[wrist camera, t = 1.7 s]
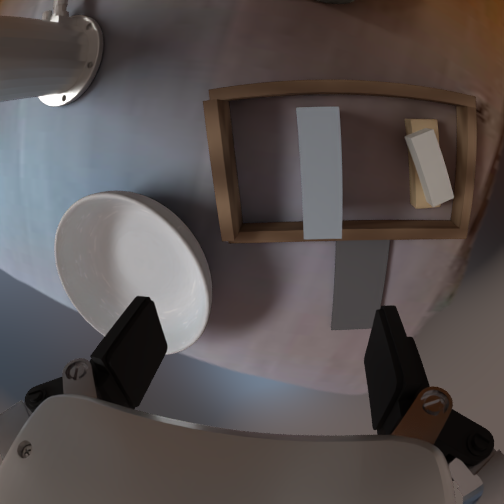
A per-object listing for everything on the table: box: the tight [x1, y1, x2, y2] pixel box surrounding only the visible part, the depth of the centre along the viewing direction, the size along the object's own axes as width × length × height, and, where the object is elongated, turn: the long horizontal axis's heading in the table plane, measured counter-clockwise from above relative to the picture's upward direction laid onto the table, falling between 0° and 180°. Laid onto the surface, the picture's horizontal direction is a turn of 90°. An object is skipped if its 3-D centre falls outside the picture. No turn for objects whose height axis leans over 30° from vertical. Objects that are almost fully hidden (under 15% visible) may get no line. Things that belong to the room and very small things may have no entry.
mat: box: [331, 240, 390, 330], centre depth 32 cm, size 13×6×1 cm, turn 6°
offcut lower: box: [405, 119, 441, 209], centre depth 24 cm, size 9×3×2 cm, turn 11°
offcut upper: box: [404, 128, 454, 207], centre depth 23 cm, size 7×3×2 cm, turn 29°
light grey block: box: [296, 107, 342, 239], centre depth 23 cm, size 10×3×8 cm, turn 6°
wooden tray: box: [203, 80, 477, 243], centre depth 24 cm, size 15×26×4 cm, turn 96°
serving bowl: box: [55, 191, 212, 355], centre depth 32 cm, size 21×21×7 cm
